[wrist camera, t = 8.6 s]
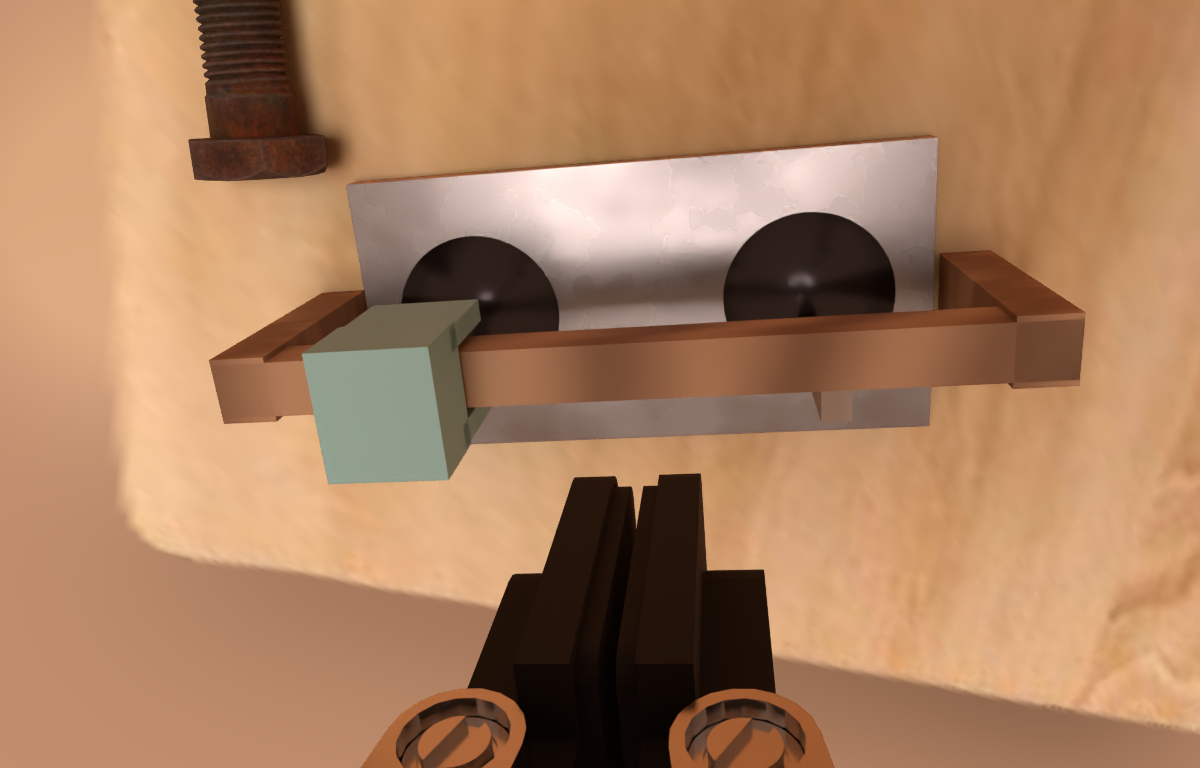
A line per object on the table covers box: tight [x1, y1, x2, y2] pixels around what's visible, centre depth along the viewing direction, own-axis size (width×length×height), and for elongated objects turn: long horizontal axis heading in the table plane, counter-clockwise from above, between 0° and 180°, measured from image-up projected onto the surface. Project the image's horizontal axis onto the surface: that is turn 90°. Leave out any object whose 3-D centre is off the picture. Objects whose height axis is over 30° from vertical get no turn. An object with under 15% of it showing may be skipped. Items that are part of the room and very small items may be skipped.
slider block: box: [302, 299, 492, 484], centre depth 34 cm, size 4×4×12 cm
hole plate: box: [346, 135, 938, 444], centre depth 39 cm, size 24×12×1 cm, turn 95°
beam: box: [209, 250, 1085, 424], centre depth 35 cm, size 29×3×10 cm, turn 95°
